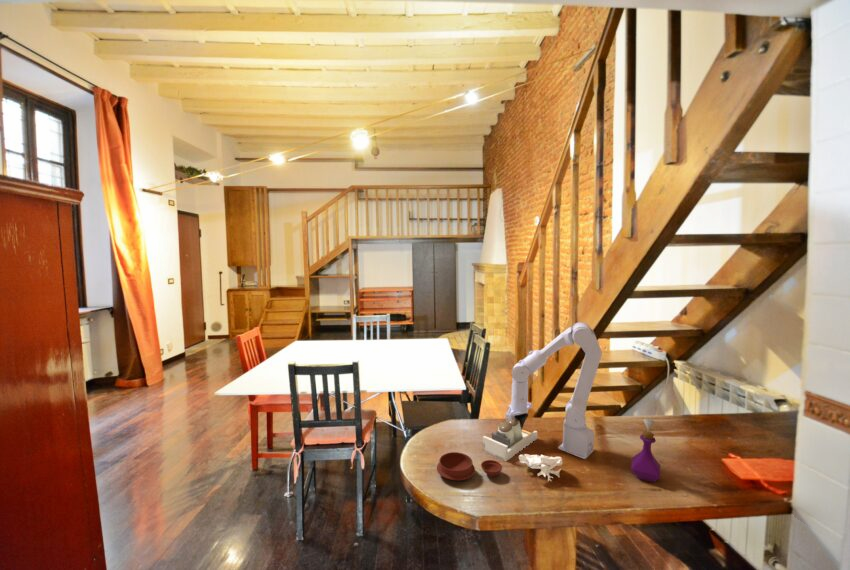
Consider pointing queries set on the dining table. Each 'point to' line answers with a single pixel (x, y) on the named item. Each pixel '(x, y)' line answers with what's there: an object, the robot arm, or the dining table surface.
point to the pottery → (464, 466)
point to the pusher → (501, 438)
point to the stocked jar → (507, 431)
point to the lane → (502, 449)
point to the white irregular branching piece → (542, 464)
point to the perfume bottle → (646, 457)
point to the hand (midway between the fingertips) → (518, 432)
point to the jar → (516, 429)
